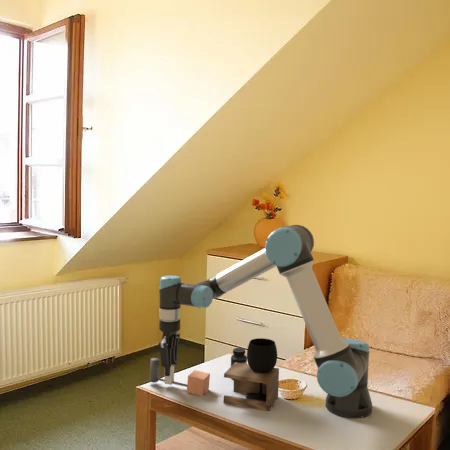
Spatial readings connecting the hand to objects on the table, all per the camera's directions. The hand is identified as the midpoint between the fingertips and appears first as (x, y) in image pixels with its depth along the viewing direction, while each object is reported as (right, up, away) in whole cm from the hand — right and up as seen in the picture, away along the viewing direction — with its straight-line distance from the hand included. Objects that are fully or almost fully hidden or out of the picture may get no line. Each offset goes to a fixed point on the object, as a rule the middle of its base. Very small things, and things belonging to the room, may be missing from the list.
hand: (169, 382), depth 189 cm
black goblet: (+32, -3, -8) cm, 34 cm away
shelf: (+29, -3, -10) cm, 31 cm away
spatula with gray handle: (+3, -1, -1) cm, 3 cm away
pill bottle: (+25, -1, +10) cm, 27 cm away
